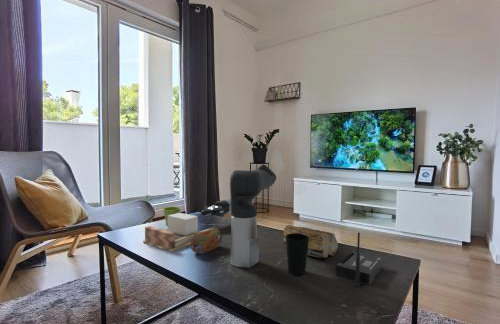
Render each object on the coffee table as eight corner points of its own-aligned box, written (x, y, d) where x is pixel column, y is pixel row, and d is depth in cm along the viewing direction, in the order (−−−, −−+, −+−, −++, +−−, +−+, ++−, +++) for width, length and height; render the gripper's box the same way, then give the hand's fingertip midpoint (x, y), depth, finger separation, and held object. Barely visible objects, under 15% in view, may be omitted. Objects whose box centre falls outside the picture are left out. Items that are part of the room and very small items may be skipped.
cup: (303, 279, 88) (303, 242, 88) (281, 273, 92) (281, 237, 92) (311, 270, 95) (312, 235, 94) (290, 265, 99) (291, 231, 98)
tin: (194, 257, 106) (194, 235, 105) (189, 255, 107) (189, 233, 107) (222, 246, 117) (222, 226, 117) (216, 244, 119) (216, 225, 119)
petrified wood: (279, 249, 114) (281, 224, 115) (296, 248, 123) (298, 225, 125) (322, 260, 101) (325, 232, 102) (338, 258, 110) (340, 232, 112)
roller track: (207, 238, 128) (207, 223, 127) (171, 251, 110) (171, 234, 110) (180, 231, 138) (180, 217, 137) (143, 242, 120) (143, 227, 120)
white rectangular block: (197, 231, 126) (197, 216, 126) (186, 235, 120) (186, 219, 120) (179, 227, 133) (179, 212, 133) (167, 230, 127) (167, 215, 127)
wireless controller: (347, 260, 105) (348, 215, 104) (387, 270, 97) (389, 221, 96) (325, 279, 89) (327, 226, 89) (371, 293, 81) (373, 235, 80)
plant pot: (162, 222, 153) (162, 206, 152) (180, 221, 155) (180, 206, 155) (162, 227, 144) (162, 210, 143) (181, 226, 146) (181, 209, 146)
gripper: (215, 198, 155) (192, 203, 140) (234, 201, 147) (212, 207, 133) (215, 212, 155) (192, 218, 141) (234, 215, 148) (212, 222, 133)
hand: (202, 213), depth 137 cm, fingers closed
